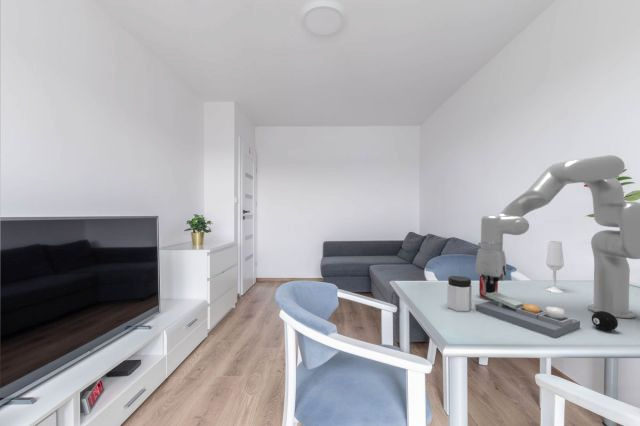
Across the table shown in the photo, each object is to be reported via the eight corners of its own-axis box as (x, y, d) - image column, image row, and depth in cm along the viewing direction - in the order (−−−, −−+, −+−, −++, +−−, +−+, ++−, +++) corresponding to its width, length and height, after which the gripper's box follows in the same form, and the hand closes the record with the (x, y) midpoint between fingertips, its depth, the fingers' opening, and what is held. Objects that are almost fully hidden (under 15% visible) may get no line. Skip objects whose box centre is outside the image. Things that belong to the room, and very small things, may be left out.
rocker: (493, 294, 115) (494, 290, 115) (522, 306, 105) (523, 302, 105) (486, 296, 113) (486, 292, 113) (514, 308, 103) (515, 304, 103)
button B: (528, 309, 104) (528, 303, 104) (542, 313, 100) (542, 307, 100) (520, 311, 102) (520, 305, 102) (535, 316, 98) (535, 309, 97)
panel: (500, 304, 118) (501, 294, 118) (580, 328, 95) (580, 316, 95) (475, 310, 111) (475, 300, 111) (554, 338, 88) (554, 324, 88)
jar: (476, 310, 111) (476, 280, 111) (460, 313, 109) (460, 281, 108) (458, 303, 120) (458, 274, 120) (442, 305, 117) (443, 276, 117)
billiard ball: (586, 326, 97) (587, 308, 96) (602, 325, 97) (603, 308, 97) (605, 334, 91) (606, 315, 91) (622, 333, 91) (623, 314, 91)
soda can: (500, 301, 123) (500, 273, 123) (482, 299, 124) (482, 272, 124) (493, 296, 130) (494, 269, 130) (476, 295, 131) (477, 269, 131)
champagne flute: (566, 293, 135) (567, 242, 134) (550, 292, 136) (551, 242, 135) (557, 289, 141) (558, 240, 141) (542, 288, 142) (543, 240, 142)
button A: (550, 312, 97) (550, 305, 97) (567, 317, 93) (567, 309, 93) (543, 314, 95) (543, 307, 95) (559, 319, 91) (559, 312, 91)
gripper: (468, 244, 119) (467, 288, 119) (504, 249, 105) (503, 299, 105) (480, 244, 122) (479, 286, 122) (517, 248, 108) (515, 296, 109)
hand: (490, 292), depth 114 cm, fingers closed
